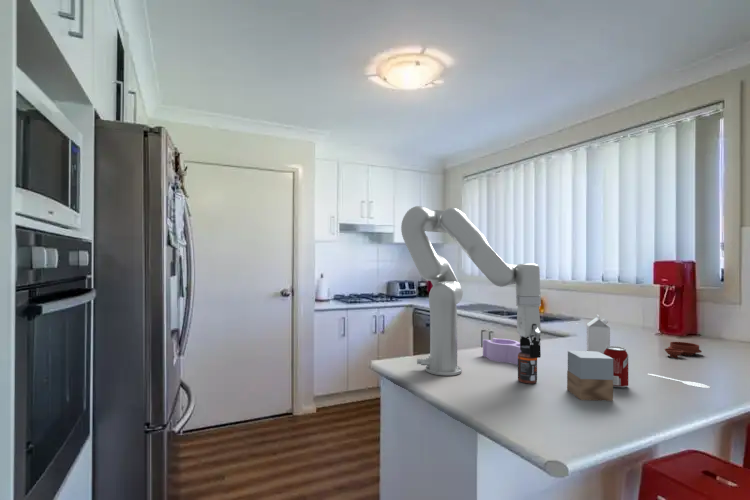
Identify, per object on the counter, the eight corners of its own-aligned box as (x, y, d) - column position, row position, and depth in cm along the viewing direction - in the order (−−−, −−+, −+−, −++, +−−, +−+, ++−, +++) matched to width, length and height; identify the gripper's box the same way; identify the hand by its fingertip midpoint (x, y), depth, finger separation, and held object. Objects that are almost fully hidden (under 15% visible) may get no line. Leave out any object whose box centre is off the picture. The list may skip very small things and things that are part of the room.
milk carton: (588, 366, 153) (588, 315, 154) (586, 362, 160) (586, 313, 160) (610, 368, 151) (610, 317, 151) (607, 364, 157) (607, 314, 158)
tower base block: (580, 400, 116) (580, 379, 116) (567, 390, 125) (567, 370, 125) (613, 401, 116) (613, 379, 116) (597, 391, 125) (597, 371, 125)
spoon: (651, 373, 146) (651, 372, 146) (713, 387, 130) (713, 385, 130) (643, 375, 143) (643, 374, 143) (706, 390, 127) (706, 388, 127)
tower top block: (580, 378, 116) (580, 357, 116) (567, 370, 125) (567, 350, 125) (613, 379, 116) (613, 358, 116) (597, 371, 125) (597, 351, 125)
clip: (540, 363, 159) (540, 345, 159) (522, 367, 151) (522, 349, 151) (496, 353, 174) (496, 337, 175) (478, 357, 167) (478, 340, 167)
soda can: (620, 390, 125) (619, 350, 125) (599, 384, 131) (599, 346, 131) (633, 387, 128) (633, 349, 129) (612, 381, 134) (612, 344, 135)
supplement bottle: (538, 385, 130) (538, 349, 130) (519, 383, 131) (519, 348, 131) (535, 379, 135) (535, 345, 136) (516, 378, 137) (516, 344, 137)
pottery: (706, 355, 176) (706, 345, 176) (687, 361, 164) (687, 350, 165) (674, 350, 185) (674, 340, 185) (654, 355, 174) (654, 345, 174)
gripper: (509, 299, 142) (510, 348, 142) (525, 304, 125) (526, 360, 125) (531, 299, 142) (532, 348, 141) (549, 303, 125) (552, 360, 124)
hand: (530, 354), depth 133 cm, fingers open, 9 cm apart
